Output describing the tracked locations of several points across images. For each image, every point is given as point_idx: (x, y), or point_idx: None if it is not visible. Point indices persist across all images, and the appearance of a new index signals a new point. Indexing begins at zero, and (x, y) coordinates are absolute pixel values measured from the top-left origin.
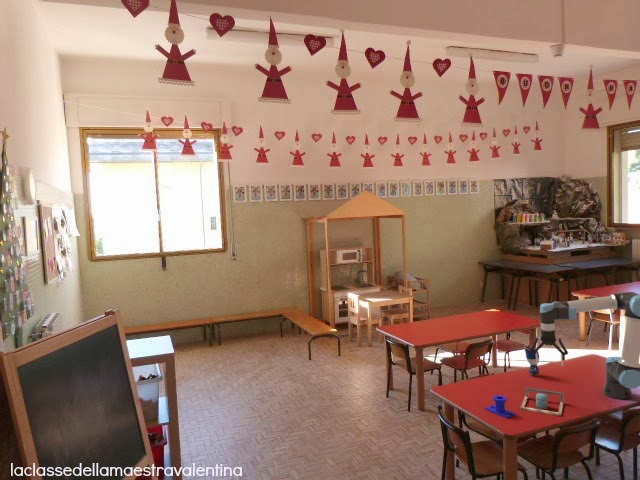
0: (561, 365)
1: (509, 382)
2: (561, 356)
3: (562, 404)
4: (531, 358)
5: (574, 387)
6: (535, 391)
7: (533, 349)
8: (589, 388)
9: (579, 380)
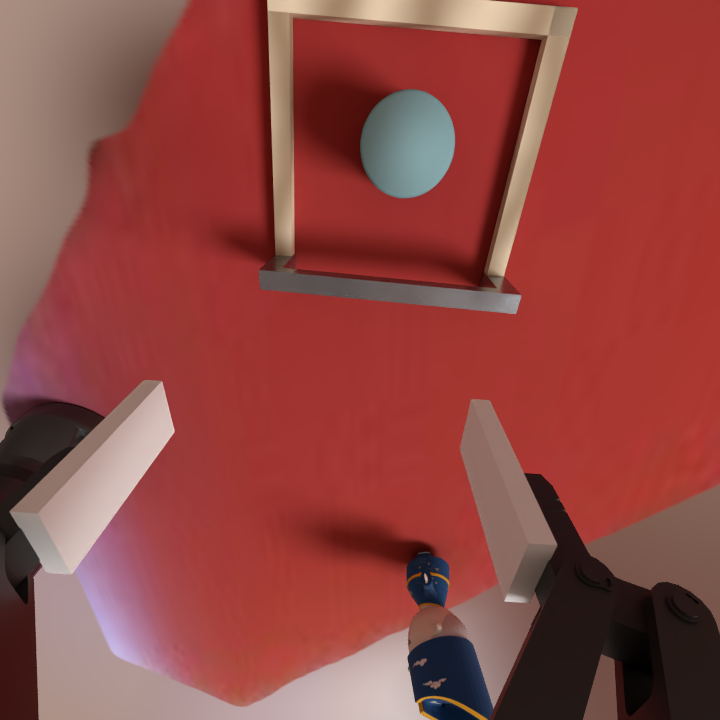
0: (153, 386)
1: (554, 468)
2: (46, 495)
3: (276, 209)
4: (450, 642)
5: (255, 479)
6: (445, 284)
7: (439, 716)
8: (197, 482)
9: (247, 544)
